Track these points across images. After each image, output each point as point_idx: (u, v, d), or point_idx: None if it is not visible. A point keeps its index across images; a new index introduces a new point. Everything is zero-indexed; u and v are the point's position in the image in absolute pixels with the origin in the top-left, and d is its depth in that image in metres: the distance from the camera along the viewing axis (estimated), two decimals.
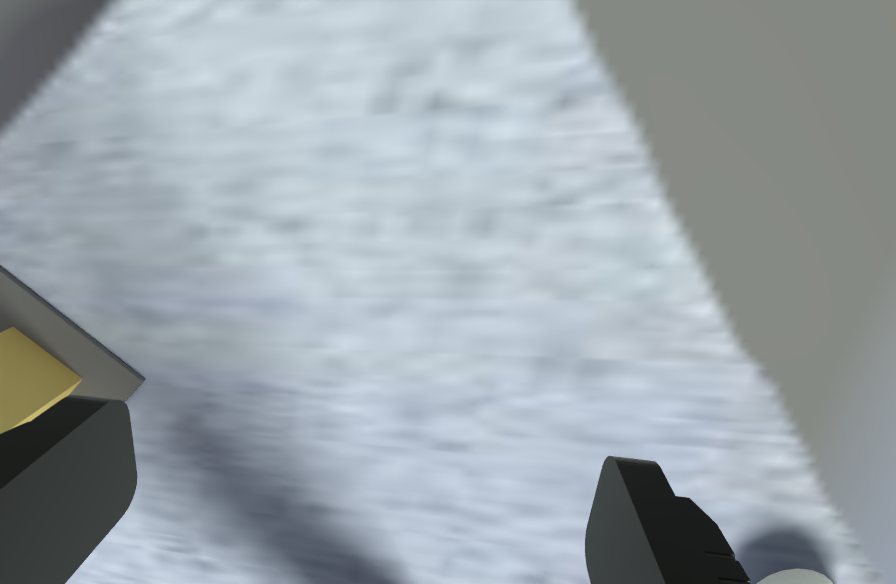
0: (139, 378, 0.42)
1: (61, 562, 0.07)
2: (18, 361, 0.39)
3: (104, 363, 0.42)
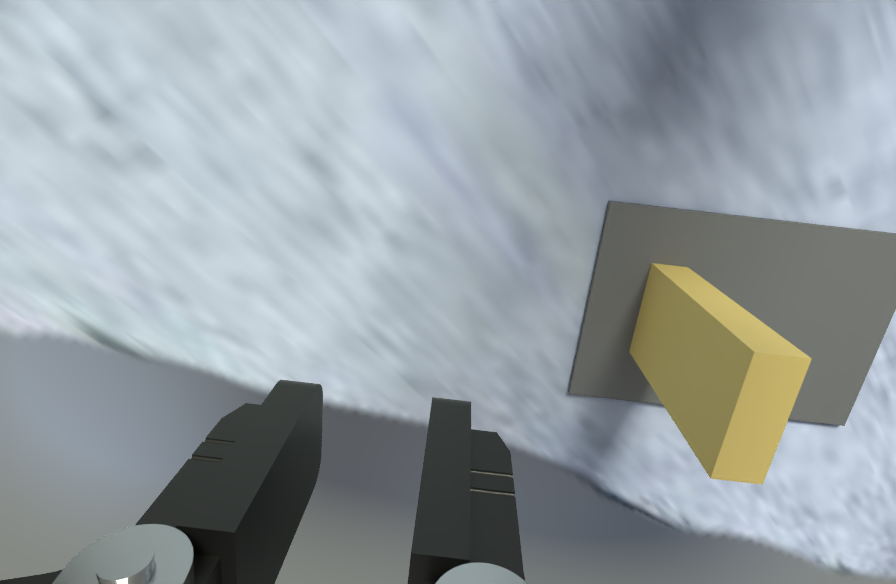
0: (609, 206, 0.32)
1: (291, 524, 0.08)
2: (648, 331, 0.33)
3: (613, 251, 0.33)
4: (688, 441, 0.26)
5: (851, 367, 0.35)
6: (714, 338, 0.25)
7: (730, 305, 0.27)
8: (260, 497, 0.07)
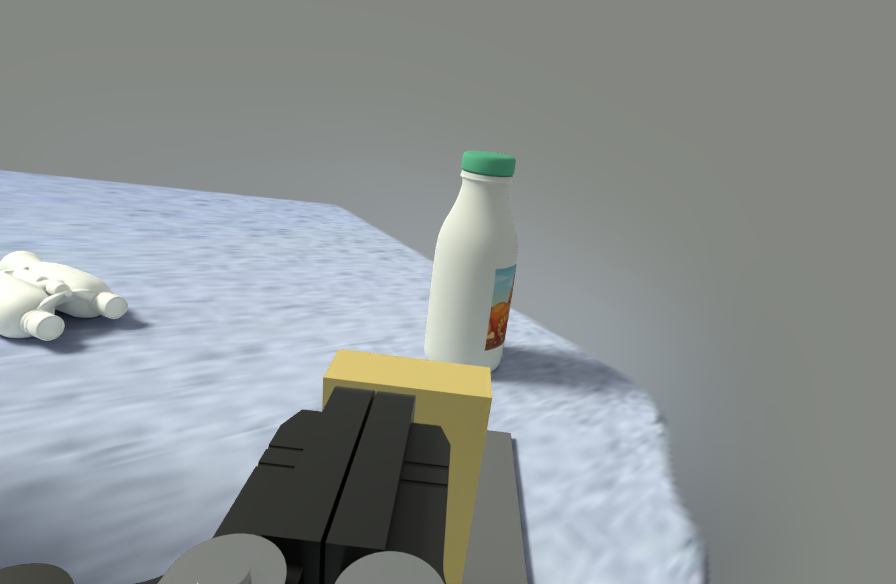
0: None
1: None
2: None
3: None
4: (479, 453, 0.20)
5: None
6: None
7: None
8: (335, 505, 0.07)
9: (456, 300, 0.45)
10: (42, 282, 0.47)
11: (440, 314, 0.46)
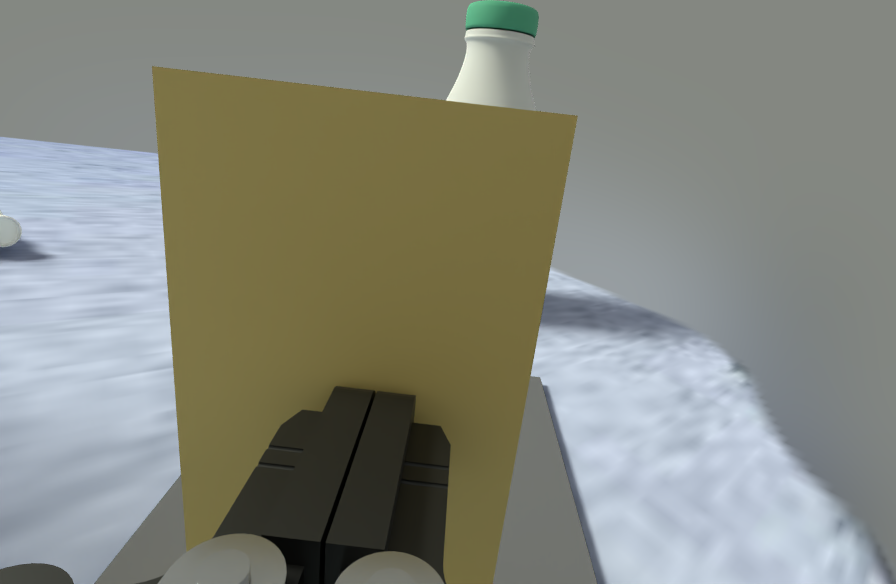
0: None
1: None
2: None
3: None
4: (541, 277, 0.09)
5: None
6: (217, 274, 0.09)
7: None
8: (335, 505, 0.07)
9: None
10: None
11: None
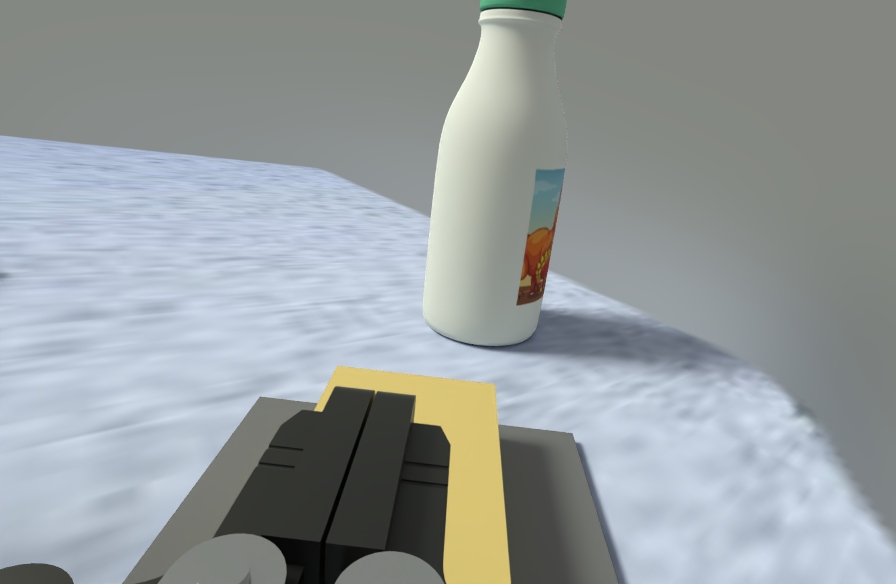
0: None
1: None
2: None
3: None
4: (494, 419, 0.18)
5: None
6: None
7: None
8: (335, 506, 0.07)
9: (471, 222, 0.28)
10: None
11: (447, 248, 0.30)
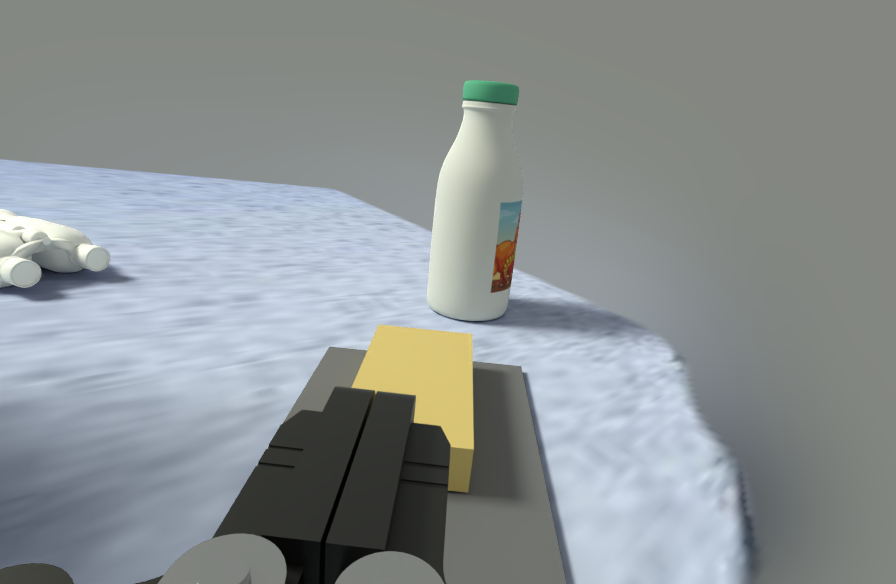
0: None
1: None
2: (420, 415, 0.25)
3: None
4: (470, 349, 0.33)
5: None
6: (384, 345, 0.32)
7: None
8: (335, 505, 0.07)
9: (459, 237, 0.43)
10: (18, 231, 0.44)
11: (443, 255, 0.44)
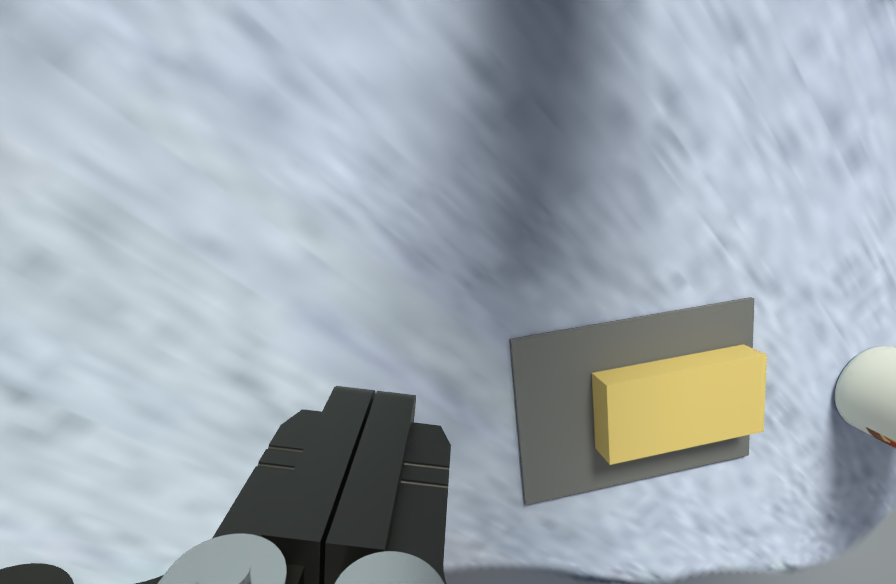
0: (511, 344, 0.38)
1: None
2: (637, 427, 0.38)
3: (526, 378, 0.38)
4: (734, 436, 0.40)
5: None
6: (728, 372, 0.38)
7: (681, 359, 0.40)
8: (335, 505, 0.07)
9: None
10: None
11: None
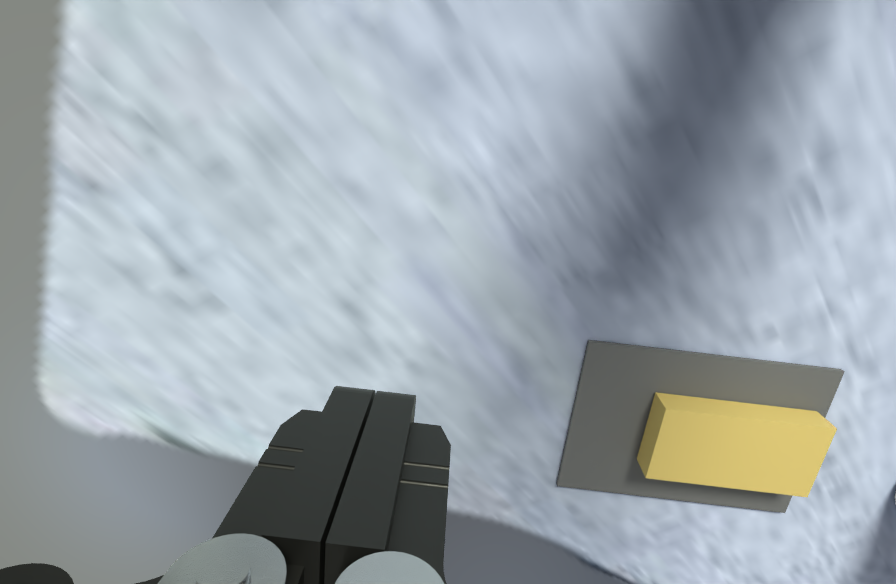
0: (588, 345, 0.40)
1: None
2: (682, 454, 0.40)
3: (592, 378, 0.41)
4: (775, 492, 0.41)
5: None
6: (790, 433, 0.39)
7: (748, 406, 0.40)
8: (335, 505, 0.07)
9: None
10: None
11: None
